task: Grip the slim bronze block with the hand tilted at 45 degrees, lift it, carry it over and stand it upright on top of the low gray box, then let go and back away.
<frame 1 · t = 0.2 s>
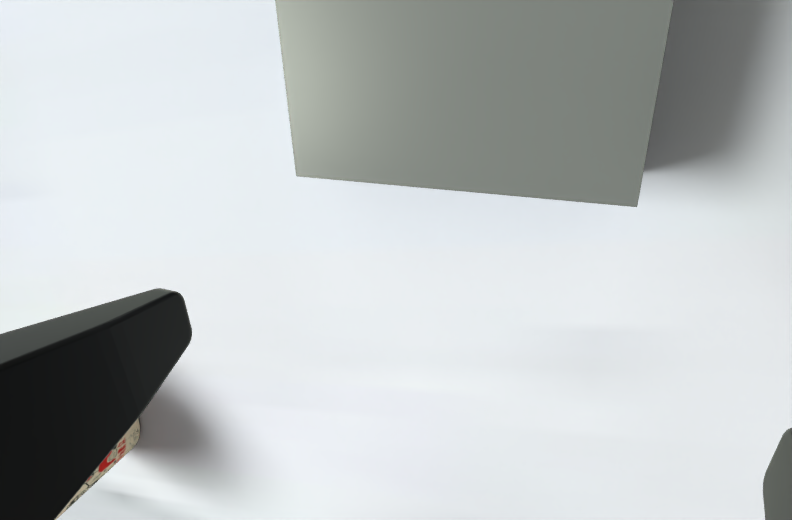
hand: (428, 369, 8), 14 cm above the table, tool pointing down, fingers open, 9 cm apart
teacup with lid: (94, 386, 39), on the table
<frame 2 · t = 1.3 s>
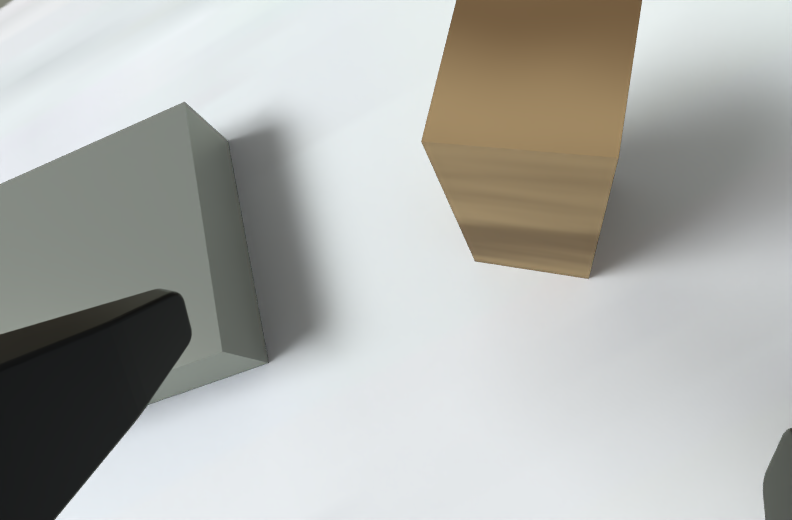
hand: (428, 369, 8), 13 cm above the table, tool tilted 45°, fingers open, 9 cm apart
bronze block: (539, 218, 22), on the table
gray box: (145, 285, 27), on the table
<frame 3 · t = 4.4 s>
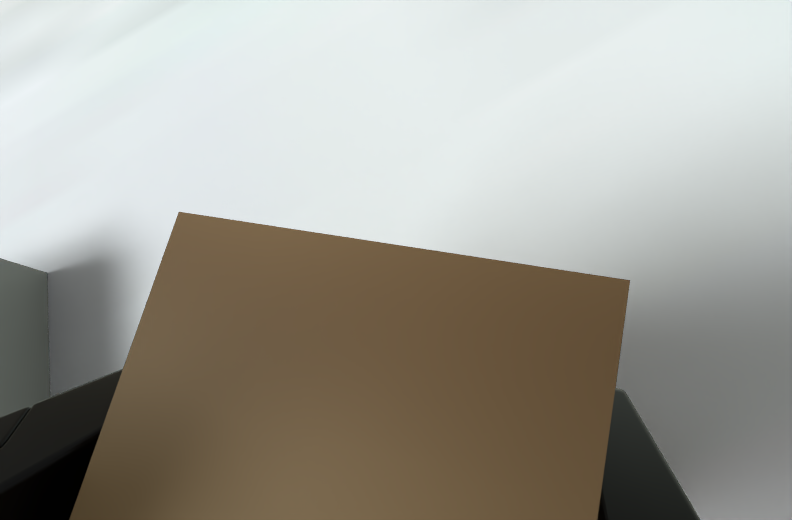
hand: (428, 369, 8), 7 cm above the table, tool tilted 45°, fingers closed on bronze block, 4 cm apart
bronze block: (470, 450, 14), on the table, touching gripper
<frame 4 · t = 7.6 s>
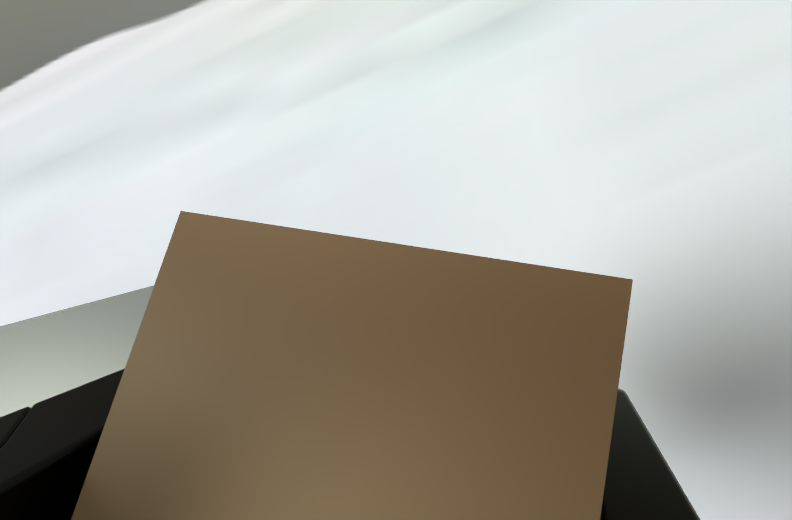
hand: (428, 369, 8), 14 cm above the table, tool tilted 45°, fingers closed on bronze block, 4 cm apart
bronze block: (471, 449, 14), point 7 cm above the table, touching gripper
gray box: (141, 449, 24), on the table
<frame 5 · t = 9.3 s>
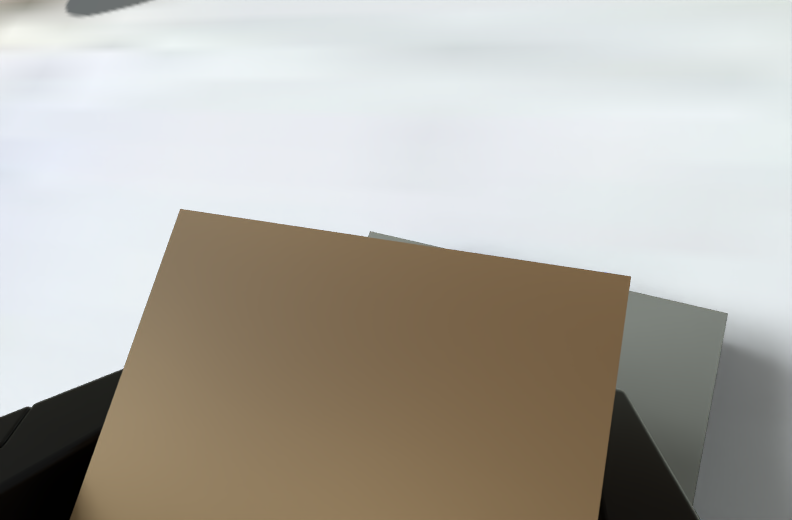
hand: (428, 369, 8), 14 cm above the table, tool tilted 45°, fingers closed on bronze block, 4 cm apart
bronze block: (471, 448, 14), point 7 cm above the table, touching gripper
gray box: (493, 442, 20), on the table
when the fingers open (12 cm above the table, at t = 10.7 s): bronze block drops 1 cm, resting on gray box.
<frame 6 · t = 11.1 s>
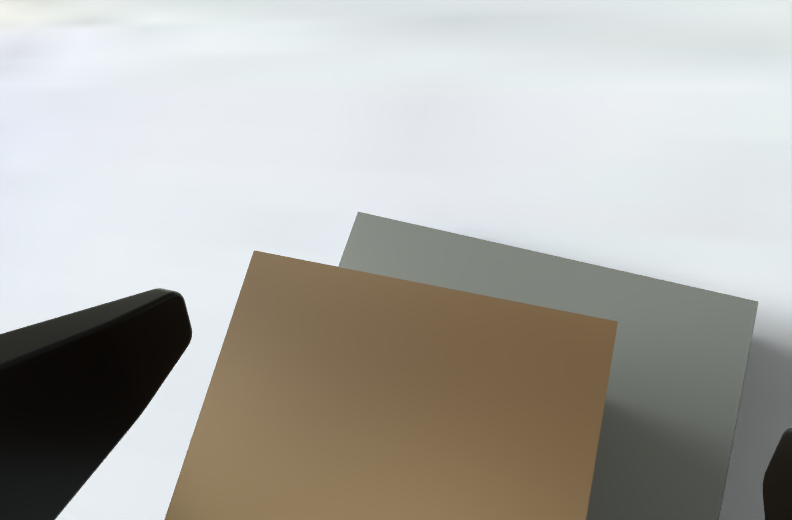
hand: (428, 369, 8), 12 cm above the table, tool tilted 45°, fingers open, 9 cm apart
bronze block: (478, 448, 15), point 4 cm above the table, touching gray box
gray box: (492, 444, 19), on the table, touching bronze block
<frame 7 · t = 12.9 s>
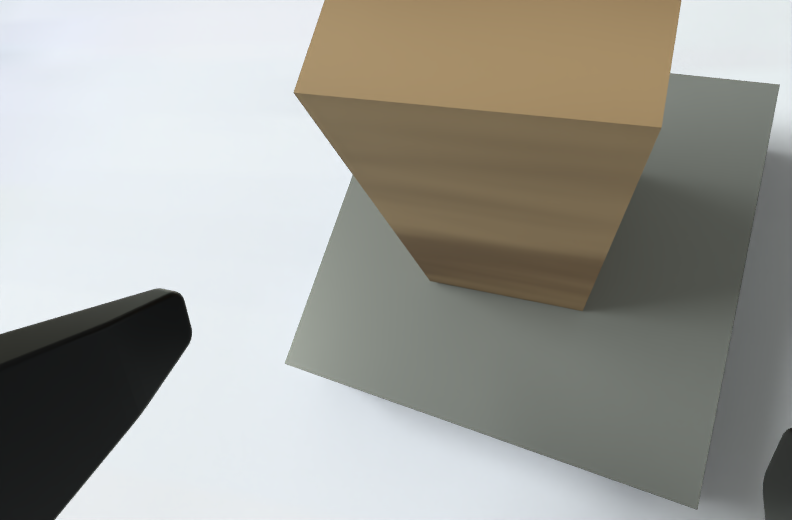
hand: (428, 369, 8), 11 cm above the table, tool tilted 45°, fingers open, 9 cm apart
bronze block: (518, 224, 16), point 4 cm above the table
gray box: (525, 267, 20), on the table
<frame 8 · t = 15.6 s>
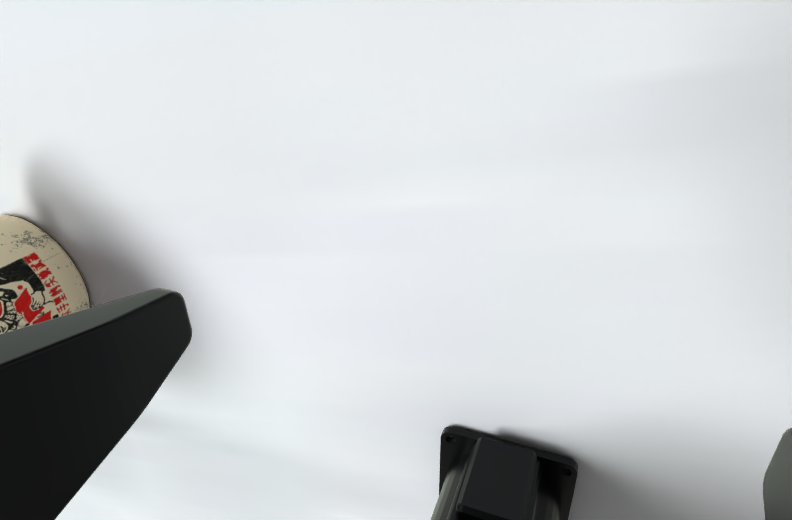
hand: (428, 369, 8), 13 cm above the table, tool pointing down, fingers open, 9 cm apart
teacup with lid: (35, 253, 33), on the table
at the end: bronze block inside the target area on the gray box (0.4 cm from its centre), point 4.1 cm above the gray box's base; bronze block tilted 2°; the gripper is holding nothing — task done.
